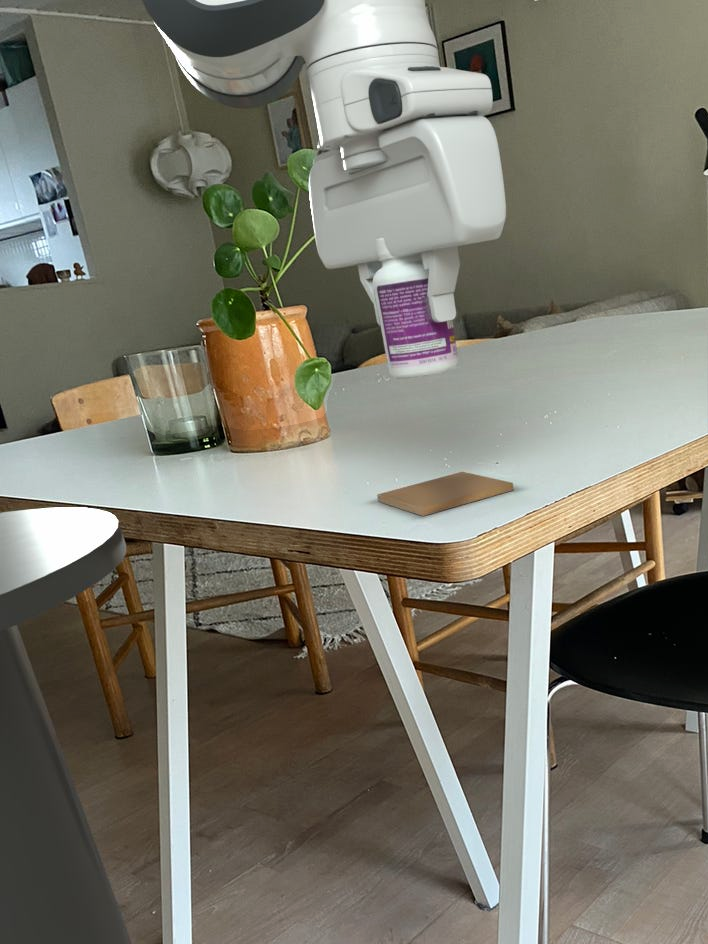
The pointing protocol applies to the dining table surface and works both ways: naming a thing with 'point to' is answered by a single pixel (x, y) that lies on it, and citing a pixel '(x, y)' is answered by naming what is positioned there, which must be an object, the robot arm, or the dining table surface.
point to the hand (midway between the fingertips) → (416, 323)
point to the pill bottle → (410, 318)
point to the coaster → (444, 493)
